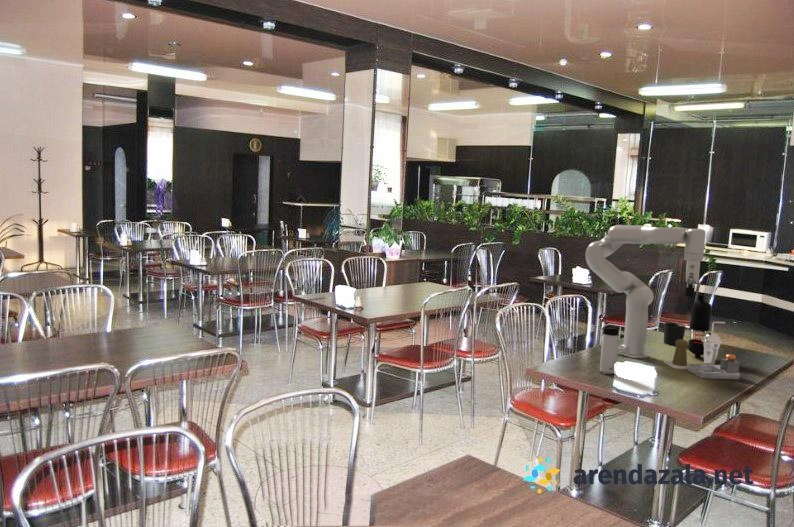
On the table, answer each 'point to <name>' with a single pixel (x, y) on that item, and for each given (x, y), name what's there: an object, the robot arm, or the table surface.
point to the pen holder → (673, 333)
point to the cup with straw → (711, 346)
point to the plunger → (730, 357)
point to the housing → (716, 370)
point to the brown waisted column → (680, 353)
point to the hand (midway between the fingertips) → (689, 295)
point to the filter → (699, 325)
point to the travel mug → (609, 349)
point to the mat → (675, 365)
